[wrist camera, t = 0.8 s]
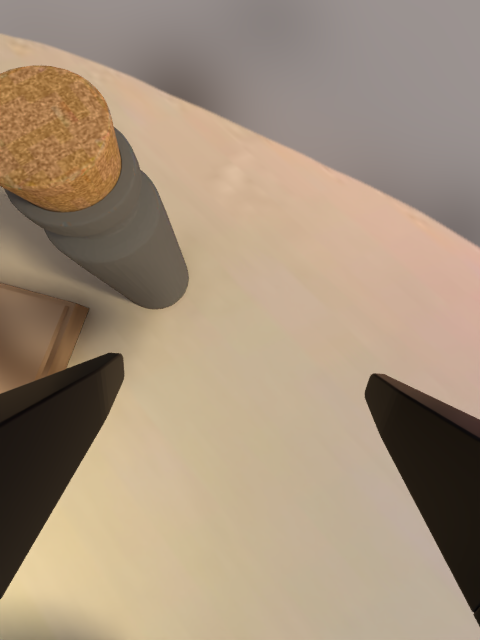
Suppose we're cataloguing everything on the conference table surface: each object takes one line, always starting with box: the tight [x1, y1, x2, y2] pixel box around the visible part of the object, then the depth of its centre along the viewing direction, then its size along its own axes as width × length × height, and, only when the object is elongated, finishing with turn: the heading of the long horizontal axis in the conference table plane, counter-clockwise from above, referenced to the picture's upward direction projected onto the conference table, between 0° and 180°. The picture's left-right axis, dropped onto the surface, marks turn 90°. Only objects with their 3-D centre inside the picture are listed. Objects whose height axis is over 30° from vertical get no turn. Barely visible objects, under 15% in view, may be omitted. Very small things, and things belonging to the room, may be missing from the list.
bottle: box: [0, 66, 189, 309], centre depth 15 cm, size 6×6×15 cm
